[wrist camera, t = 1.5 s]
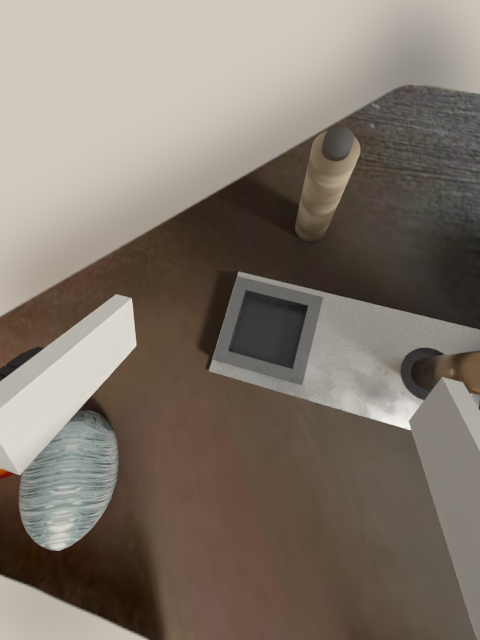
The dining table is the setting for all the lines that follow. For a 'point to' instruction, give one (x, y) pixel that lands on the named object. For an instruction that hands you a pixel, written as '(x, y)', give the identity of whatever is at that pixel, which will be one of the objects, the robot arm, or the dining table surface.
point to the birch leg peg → (325, 181)
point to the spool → (70, 482)
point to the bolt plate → (341, 350)
